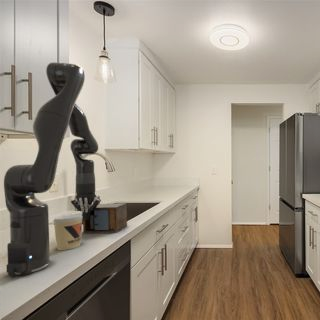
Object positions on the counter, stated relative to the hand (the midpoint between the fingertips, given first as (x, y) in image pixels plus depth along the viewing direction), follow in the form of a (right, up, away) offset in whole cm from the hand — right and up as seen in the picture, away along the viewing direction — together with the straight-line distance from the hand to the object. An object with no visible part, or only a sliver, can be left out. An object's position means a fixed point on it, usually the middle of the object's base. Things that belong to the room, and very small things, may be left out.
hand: (86, 220), depth 108 cm
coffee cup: (+2, -7, -14) cm, 16 cm away
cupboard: (+4, -7, +8) cm, 11 cm away
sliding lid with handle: (+5, -6, +2) cm, 8 cm away
